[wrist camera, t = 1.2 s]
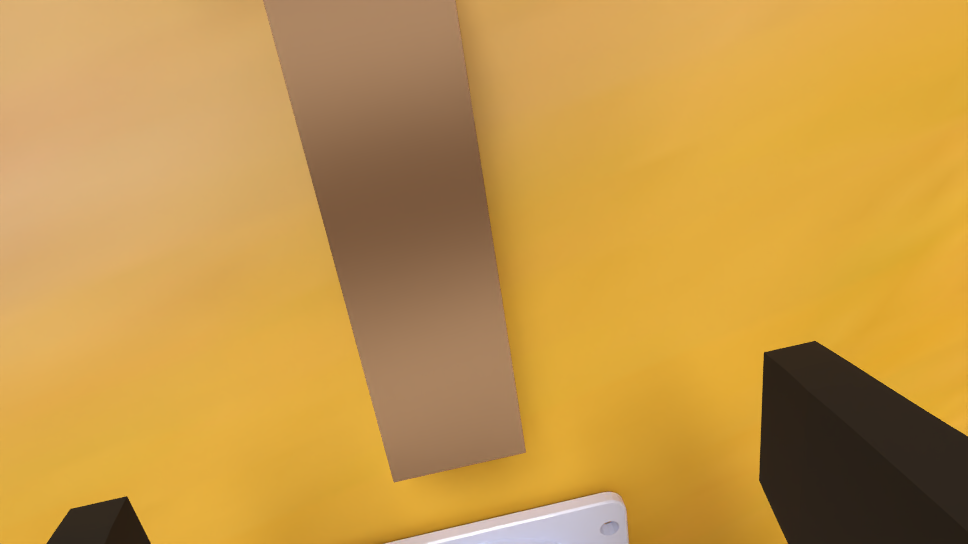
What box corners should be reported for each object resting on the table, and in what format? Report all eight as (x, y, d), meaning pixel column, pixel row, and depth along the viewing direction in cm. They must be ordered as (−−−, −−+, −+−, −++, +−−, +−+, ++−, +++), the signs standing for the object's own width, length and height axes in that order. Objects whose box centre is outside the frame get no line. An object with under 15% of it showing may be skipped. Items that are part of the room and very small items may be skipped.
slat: (479, 299, 21) (525, 452, 16) (374, 322, 20) (394, 482, 16) (395, -193, 15) (431, -152, 11) (250, -167, 15) (231, -116, 11)
